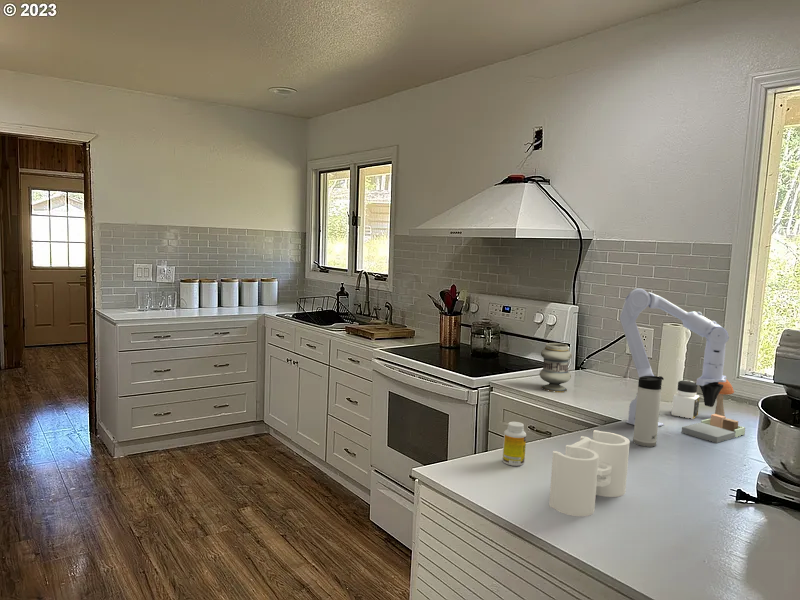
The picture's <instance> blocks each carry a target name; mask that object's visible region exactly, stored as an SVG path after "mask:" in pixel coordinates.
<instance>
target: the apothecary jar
mask: <svg viewBox="0 0 800 600" xmlns="http://www.w3.org/2000/svg"><path fill="white" fill-rule="evenodd" d="M540 355H541V358H543V364H542V369H541V370H540V371H539V377H540V379H541V380H542V381H544V382H547V384H543V385H541V387H540V389H542V388H543V389H542V390H544V389H545V390H544V391H546V390H549V391H548V392H550V391H555V392H554V393H565V392H564V391H566V392H567V391H568V390H567V388H566V387H564V386H563V385H561V384H565V383H567V382H569V381H570V380H571V378H572V374H571V373H570V371H569V360H571V359H572V358H573V354H572V352H571V351H570V350H569V345H568V344H566V343H558V342H549V343H546V344H545V347H544V348H543V349H542V350H541V352H540Z"/></svg>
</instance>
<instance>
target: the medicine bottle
mask: <svg viewBox="0 0 800 600" xmlns="http://www.w3.org/2000/svg"><path fill="white" fill-rule="evenodd" d="M697 391H698V385H696V382H695V381H692V380H683V379H682V380H679V381H678V382H677V392H676V393H674V394H673V396H672V403H671V406H672V407H671V416H675V417H679V416H680V417H679V418H684V417H685V419H689V418H691V419H690V420H694V419H695V418H696V417H697V416H698V415H699V407H700V399H701V398H700V397H701V396H700V395H697Z"/></svg>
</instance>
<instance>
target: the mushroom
mask: <svg viewBox="0 0 800 600" xmlns="http://www.w3.org/2000/svg"><path fill="white" fill-rule="evenodd" d="M718 384H722V385H723V388H722V389H721V391H720V392H719V394H718V396H717V398H716V405H715V410H714V414H717V415H721V416H725V417H726V414H725V408H724V395H733V394H734V393H735V390H734V388H733V385H732V383H731V382H730V381H729V380H728V379H726V382H719V383H718Z"/></svg>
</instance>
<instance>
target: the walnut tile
mask: <svg viewBox="0 0 800 600" xmlns="http://www.w3.org/2000/svg"><path fill="white" fill-rule="evenodd" d="M738 426H739V421H738V420H736V419H731V418H728V417H726V419H723V427H722V428H723V429H726V430H730V431H734V430H735V429H738Z"/></svg>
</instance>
